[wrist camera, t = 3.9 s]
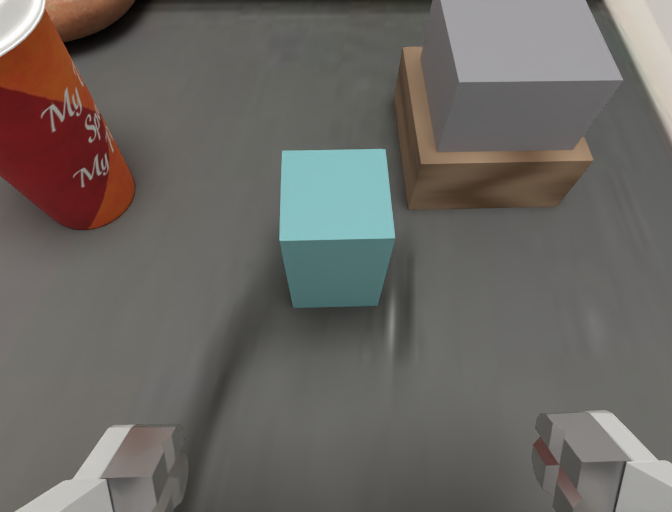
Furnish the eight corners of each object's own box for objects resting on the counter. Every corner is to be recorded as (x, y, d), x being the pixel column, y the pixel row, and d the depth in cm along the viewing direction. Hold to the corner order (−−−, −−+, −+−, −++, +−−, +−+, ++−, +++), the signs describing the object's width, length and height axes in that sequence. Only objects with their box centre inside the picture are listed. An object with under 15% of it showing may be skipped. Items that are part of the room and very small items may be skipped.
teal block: (293, 308, 26) (279, 241, 19) (294, 234, 28) (282, 150, 21) (377, 305, 26) (395, 238, 19) (371, 233, 29) (385, 149, 21)
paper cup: (164, 219, 29) (37, 17, 16) (40, 262, 27) (-202, 74, 15) (137, 135, 32) (16, -86, 20) (26, 169, 31) (-182, -48, 18)
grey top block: (436, 152, 26) (459, 82, 21) (420, 58, 29) (436, -18, 25) (572, 149, 26) (623, 80, 21) (539, 57, 30) (576, -19, 25)
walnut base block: (407, 212, 30) (421, 164, 25) (393, 103, 34) (402, 47, 30) (554, 208, 30) (593, 160, 26) (520, 101, 35) (549, 45, 30)
